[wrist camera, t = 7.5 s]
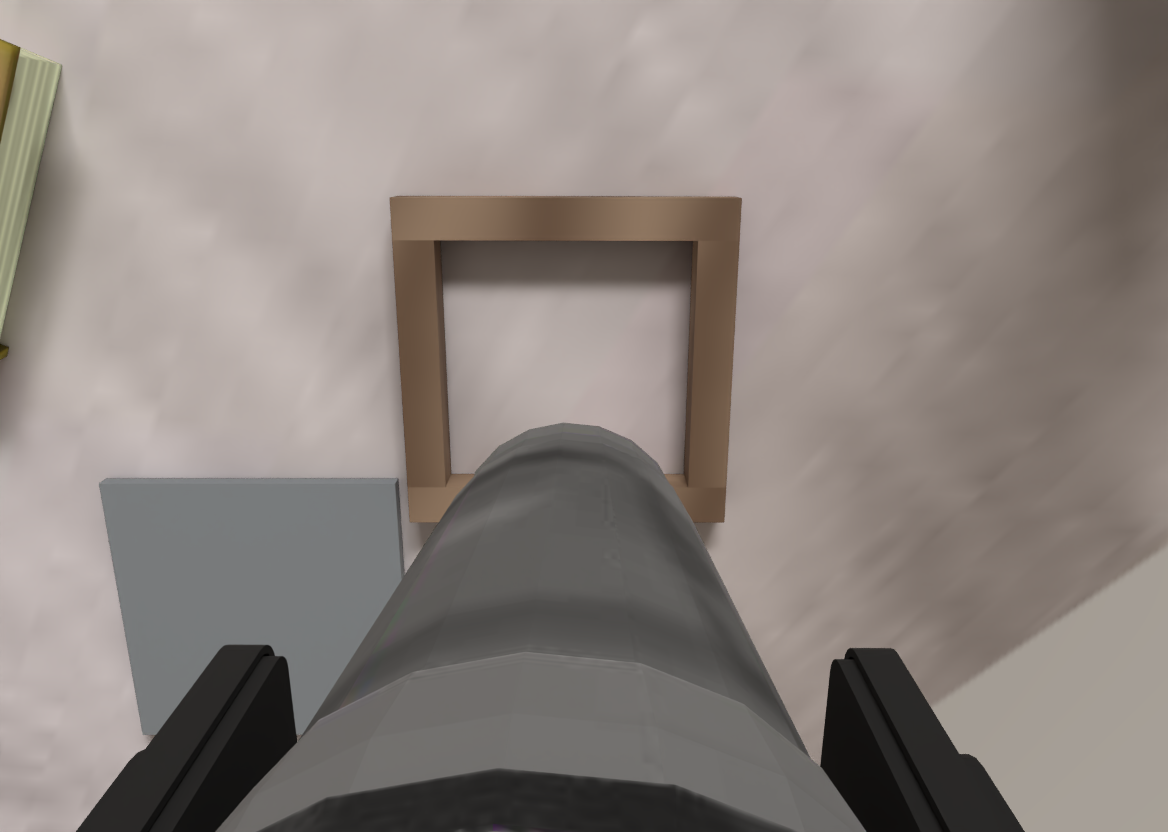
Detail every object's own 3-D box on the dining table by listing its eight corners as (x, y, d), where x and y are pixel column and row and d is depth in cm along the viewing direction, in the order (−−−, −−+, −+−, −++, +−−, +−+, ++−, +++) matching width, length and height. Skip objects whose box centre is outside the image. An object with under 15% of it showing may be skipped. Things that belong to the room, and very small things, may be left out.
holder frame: (734, 196, 32) (741, 198, 30) (718, 507, 35) (724, 522, 34) (398, 195, 32) (389, 197, 30) (416, 507, 35) (409, 522, 34)
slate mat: (398, 478, 35) (395, 483, 34) (414, 726, 38) (411, 734, 38) (106, 478, 35) (98, 483, 34) (149, 726, 38) (142, 734, 38)
